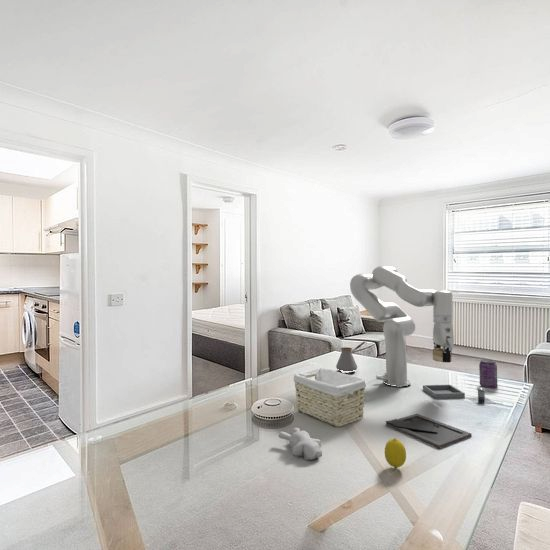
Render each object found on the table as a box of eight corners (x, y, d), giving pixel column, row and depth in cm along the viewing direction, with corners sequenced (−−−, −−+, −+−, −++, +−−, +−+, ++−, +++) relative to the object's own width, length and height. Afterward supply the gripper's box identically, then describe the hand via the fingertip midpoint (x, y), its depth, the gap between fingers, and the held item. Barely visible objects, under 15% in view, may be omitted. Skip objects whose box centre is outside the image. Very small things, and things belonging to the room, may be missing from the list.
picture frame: (385, 427, 128) (439, 450, 110) (385, 421, 128) (439, 444, 110) (416, 417, 136) (471, 438, 118) (416, 412, 136) (471, 432, 118)
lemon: (381, 463, 102) (381, 434, 102) (401, 462, 102) (400, 433, 103) (389, 474, 96) (388, 443, 97) (410, 473, 97) (409, 442, 97)
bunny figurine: (303, 451, 102) (275, 427, 115) (302, 469, 102) (274, 442, 115) (330, 443, 106) (300, 420, 119) (329, 460, 107) (299, 435, 120)
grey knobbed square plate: (477, 405, 147) (476, 391, 147) (466, 398, 155) (466, 385, 155) (497, 404, 147) (496, 391, 147) (485, 398, 155) (485, 385, 155)
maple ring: (437, 362, 157) (438, 351, 157) (430, 358, 164) (430, 348, 164) (454, 362, 157) (454, 351, 157) (446, 358, 164) (446, 348, 164)
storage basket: (368, 419, 135) (367, 378, 135) (337, 430, 125) (337, 387, 125) (322, 402, 154) (321, 366, 154) (292, 411, 144) (291, 373, 144)
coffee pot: (347, 375, 195) (346, 347, 195) (331, 371, 204) (331, 344, 204) (374, 369, 207) (373, 342, 207) (358, 365, 216) (357, 340, 216)
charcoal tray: (435, 399, 154) (435, 393, 154) (422, 390, 167) (422, 385, 167) (464, 399, 154) (464, 393, 154) (450, 390, 167) (450, 384, 167)
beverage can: (492, 384, 174) (492, 359, 174) (500, 389, 167) (499, 362, 167) (477, 384, 175) (476, 359, 175) (484, 388, 168) (483, 362, 168)
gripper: (461, 321, 152) (461, 365, 152) (441, 316, 169) (441, 355, 170) (443, 321, 152) (443, 365, 152) (425, 316, 169) (425, 355, 169)
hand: (442, 359), depth 161 cm, fingers closed on maple ring, 7 cm apart
